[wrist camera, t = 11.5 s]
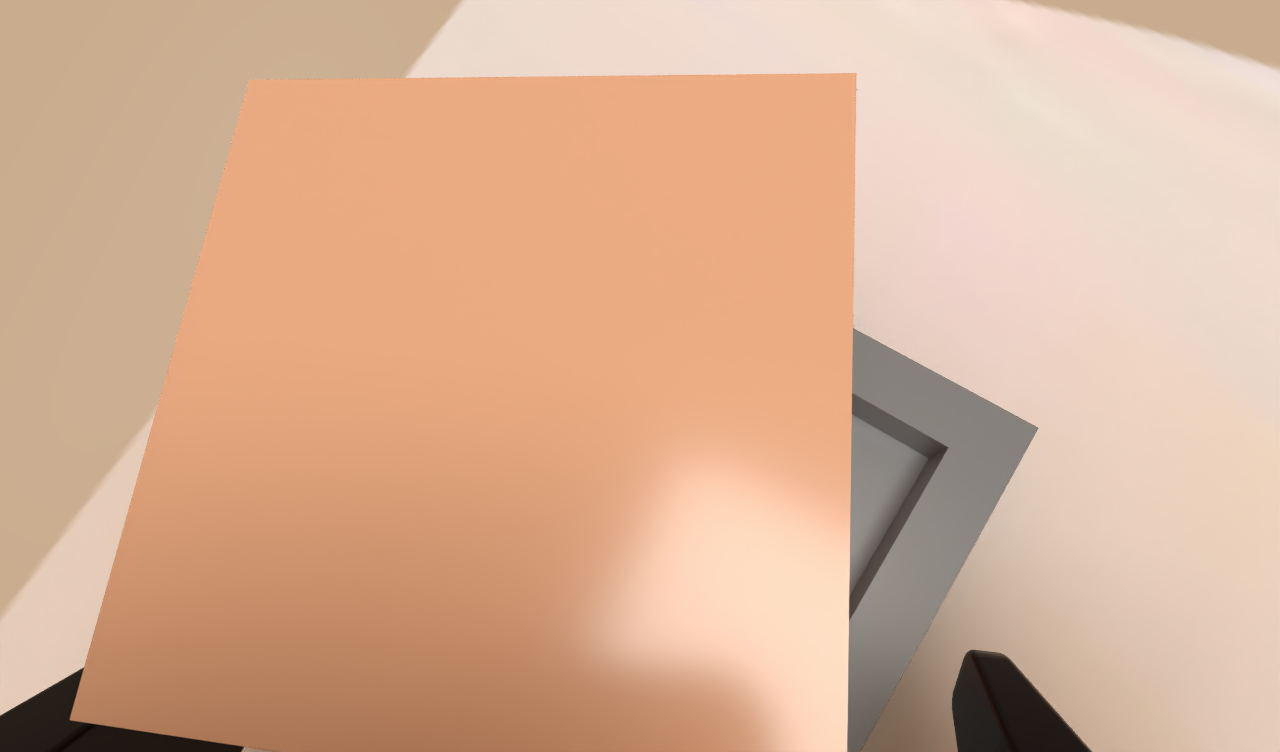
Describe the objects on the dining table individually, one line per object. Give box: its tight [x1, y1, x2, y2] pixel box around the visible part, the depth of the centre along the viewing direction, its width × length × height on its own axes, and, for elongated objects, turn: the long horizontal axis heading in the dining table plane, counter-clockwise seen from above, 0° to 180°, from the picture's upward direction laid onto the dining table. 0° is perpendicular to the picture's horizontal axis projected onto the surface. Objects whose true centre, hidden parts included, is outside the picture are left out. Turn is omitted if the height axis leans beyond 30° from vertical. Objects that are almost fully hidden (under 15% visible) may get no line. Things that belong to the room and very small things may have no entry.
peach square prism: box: [70, 73, 856, 752], centre depth 11 cm, size 5×5×13 cm
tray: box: [847, 328, 1038, 752], centre depth 17 cm, size 12×12×2 cm
